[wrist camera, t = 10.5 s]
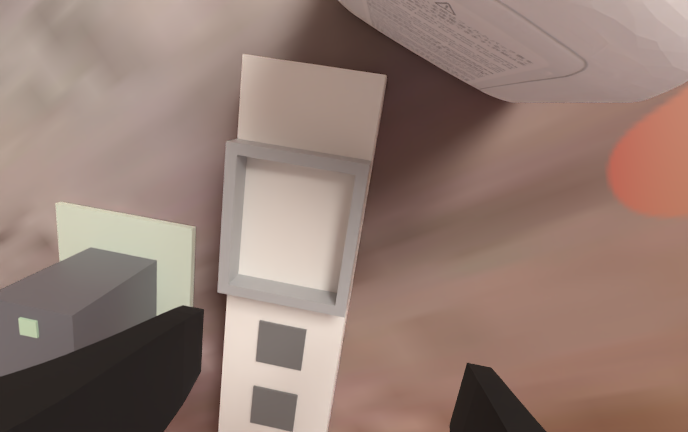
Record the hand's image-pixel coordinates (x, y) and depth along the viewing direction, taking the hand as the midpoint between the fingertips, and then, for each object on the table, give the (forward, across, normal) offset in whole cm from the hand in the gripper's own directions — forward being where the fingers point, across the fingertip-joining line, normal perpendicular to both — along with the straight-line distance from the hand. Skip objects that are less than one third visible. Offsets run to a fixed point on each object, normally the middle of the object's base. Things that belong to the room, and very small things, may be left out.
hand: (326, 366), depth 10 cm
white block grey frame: (+10, +3, +3) cm, 11 cm away
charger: (+10, +13, +6) cm, 17 cm away
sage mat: (+10, +13, +6) cm, 18 cm away
